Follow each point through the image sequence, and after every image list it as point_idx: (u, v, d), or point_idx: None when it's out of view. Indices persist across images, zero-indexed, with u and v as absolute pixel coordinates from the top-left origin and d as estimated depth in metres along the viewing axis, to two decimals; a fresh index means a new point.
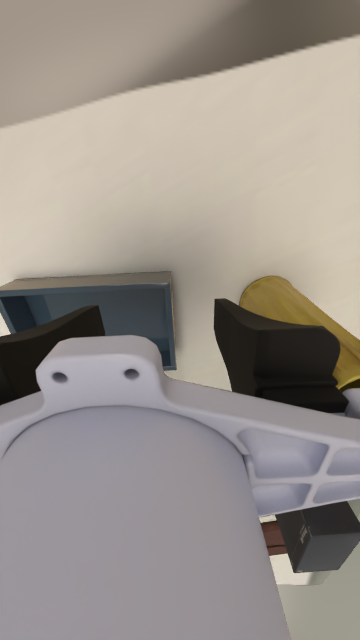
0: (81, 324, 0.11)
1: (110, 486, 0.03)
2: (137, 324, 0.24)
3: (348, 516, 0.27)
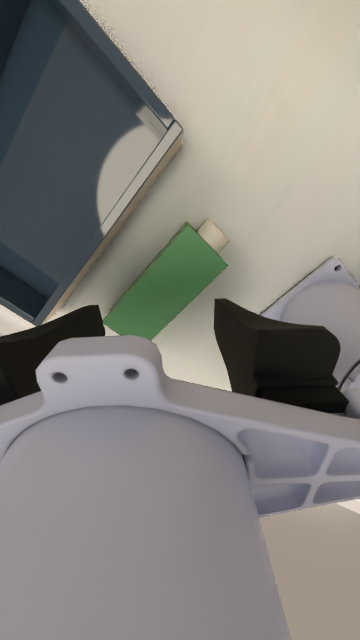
0: (81, 324, 0.11)
1: (110, 486, 0.03)
2: (86, 144, 0.14)
3: None
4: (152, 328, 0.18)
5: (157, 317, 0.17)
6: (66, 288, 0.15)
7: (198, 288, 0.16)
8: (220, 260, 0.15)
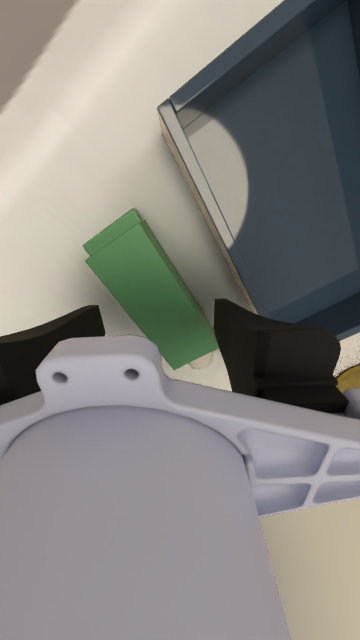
0: (81, 324, 0.11)
1: (110, 485, 0.03)
2: (305, 273, 0.15)
3: None
4: (117, 286, 0.14)
5: (132, 297, 0.14)
6: (206, 206, 0.11)
7: (158, 344, 0.16)
8: (180, 365, 0.17)
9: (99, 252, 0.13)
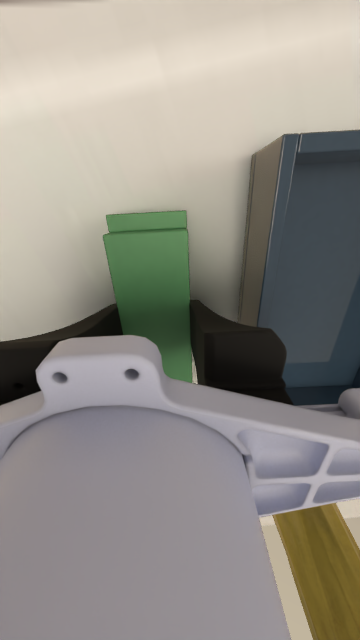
0: (111, 323, 0.11)
1: (110, 486, 0.03)
2: (296, 351, 0.16)
3: None
4: (124, 281, 0.11)
5: (133, 300, 0.12)
6: (267, 257, 0.10)
7: None
8: None
9: (125, 236, 0.10)
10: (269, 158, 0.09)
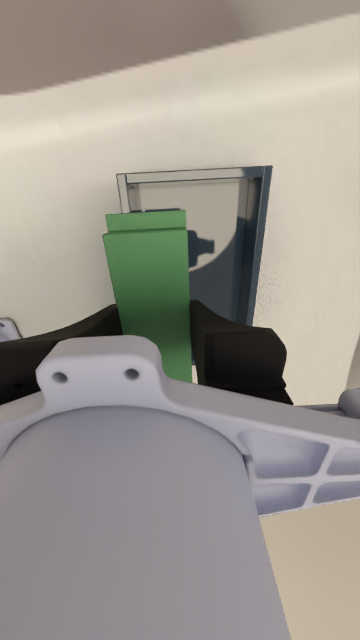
0: (111, 322, 0.11)
1: (111, 485, 0.03)
2: None
3: None
4: (123, 281, 0.11)
5: (133, 300, 0.12)
6: None
7: None
8: None
9: (125, 235, 0.10)
10: None
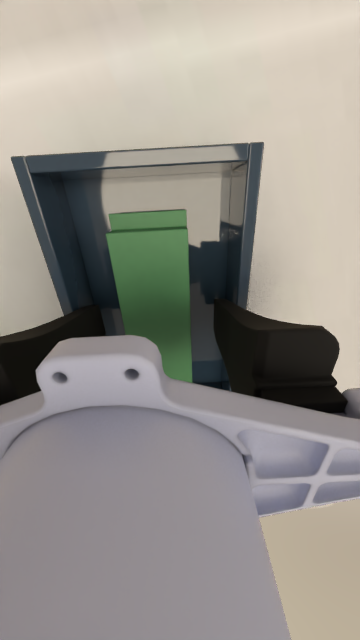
0: (82, 324, 0.11)
1: (110, 486, 0.03)
2: None
3: None
4: (126, 278, 0.11)
5: (135, 296, 0.12)
6: (47, 264, 0.11)
7: None
8: None
9: (127, 234, 0.10)
10: None
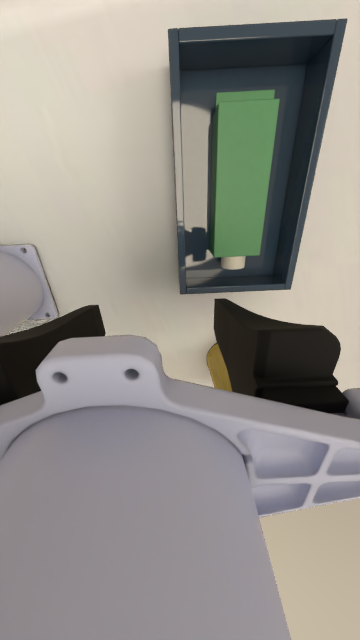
0: (81, 324, 0.11)
1: (110, 486, 0.03)
2: None
3: None
4: (226, 145, 0.15)
5: (230, 163, 0.16)
6: (173, 126, 0.14)
7: (219, 223, 0.17)
8: (221, 255, 0.19)
9: (235, 102, 0.14)
10: None
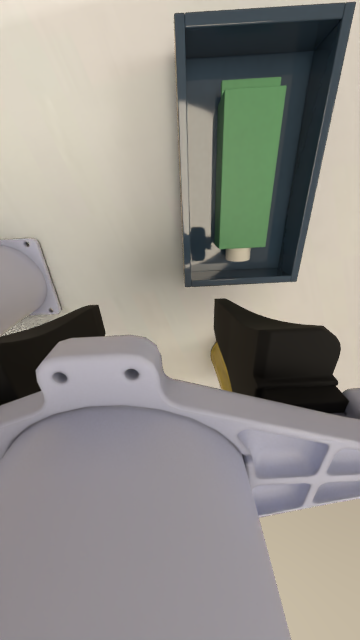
0: (81, 324, 0.11)
1: (110, 486, 0.03)
2: None
3: None
4: (232, 133, 0.15)
5: (236, 152, 0.15)
6: (178, 114, 0.14)
7: (224, 214, 0.17)
8: (227, 247, 0.18)
9: (241, 89, 0.14)
10: (174, 40, 0.13)
